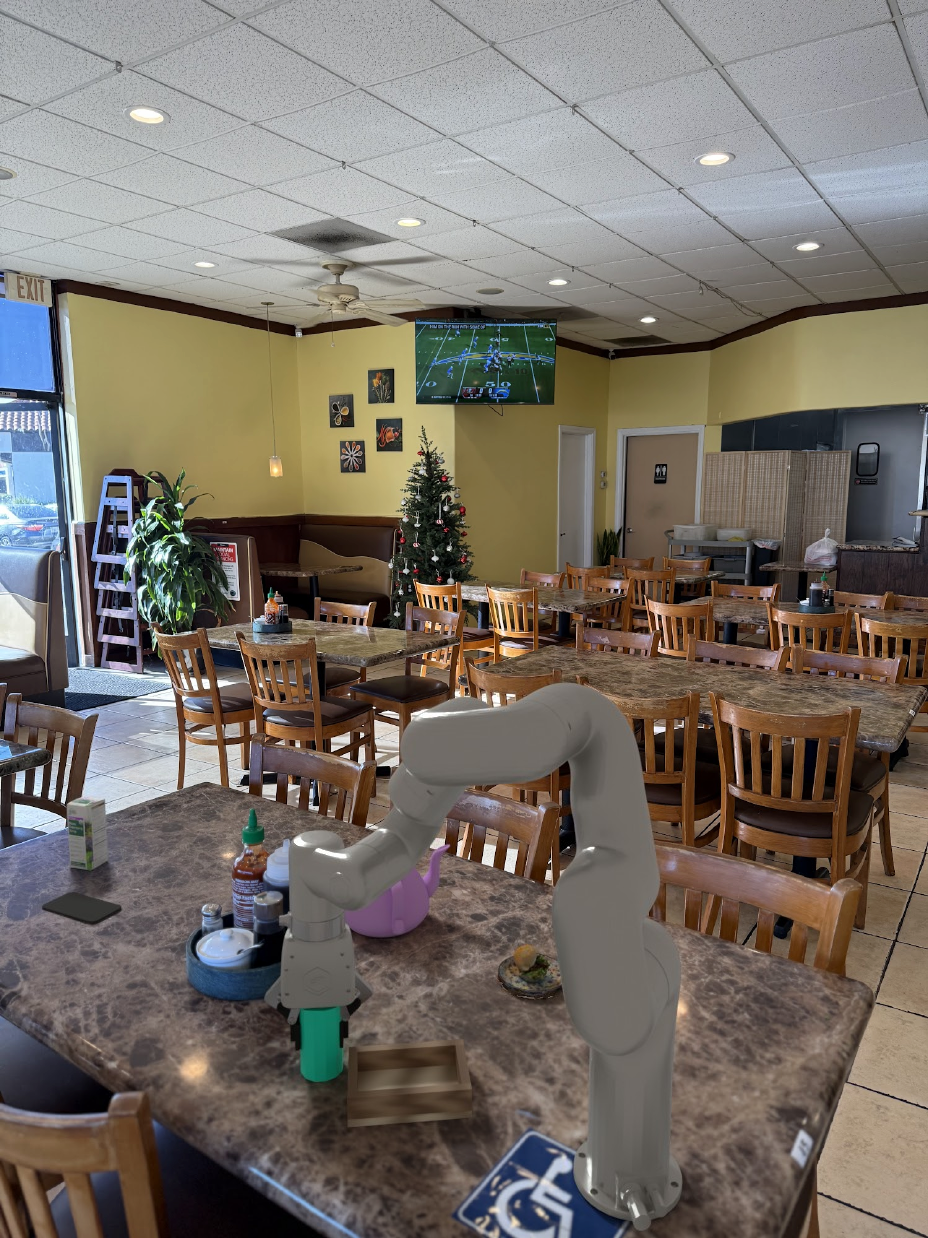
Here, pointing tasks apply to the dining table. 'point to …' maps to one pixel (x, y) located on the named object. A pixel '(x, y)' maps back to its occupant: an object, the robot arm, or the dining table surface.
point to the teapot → (399, 904)
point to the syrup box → (87, 833)
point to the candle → (320, 1043)
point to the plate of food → (530, 973)
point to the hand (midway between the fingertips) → (320, 1042)
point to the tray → (408, 1083)
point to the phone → (82, 907)
